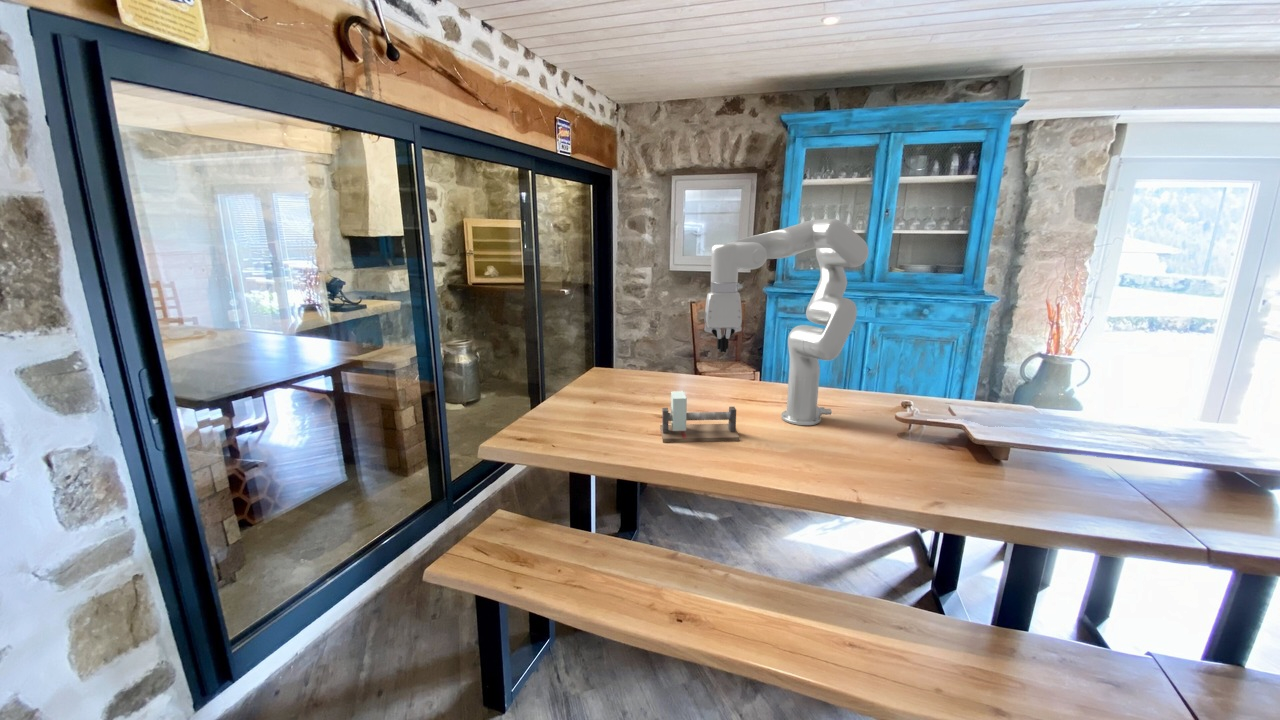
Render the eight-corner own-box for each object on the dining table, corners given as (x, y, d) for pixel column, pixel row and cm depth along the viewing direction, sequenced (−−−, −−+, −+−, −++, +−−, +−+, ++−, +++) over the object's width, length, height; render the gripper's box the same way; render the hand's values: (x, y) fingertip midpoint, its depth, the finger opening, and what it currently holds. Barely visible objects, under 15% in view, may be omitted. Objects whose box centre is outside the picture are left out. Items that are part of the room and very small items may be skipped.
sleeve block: (683, 422, 157) (684, 391, 155) (686, 430, 150) (686, 398, 148) (670, 422, 157) (671, 391, 155) (672, 430, 150) (673, 398, 148)
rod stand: (731, 427, 160) (732, 402, 158) (739, 440, 149) (740, 414, 147) (660, 428, 160) (660, 403, 158) (662, 442, 149) (662, 415, 147)
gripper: (747, 286, 145) (744, 348, 150) (695, 287, 145) (695, 349, 149) (753, 289, 138) (751, 353, 142) (699, 290, 138) (698, 355, 142)
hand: (722, 351), depth 146 cm, fingers closed
